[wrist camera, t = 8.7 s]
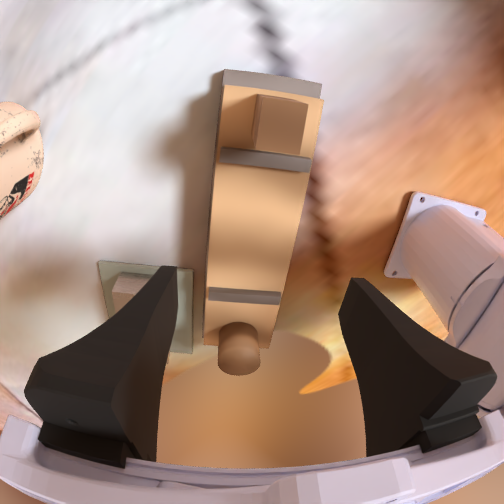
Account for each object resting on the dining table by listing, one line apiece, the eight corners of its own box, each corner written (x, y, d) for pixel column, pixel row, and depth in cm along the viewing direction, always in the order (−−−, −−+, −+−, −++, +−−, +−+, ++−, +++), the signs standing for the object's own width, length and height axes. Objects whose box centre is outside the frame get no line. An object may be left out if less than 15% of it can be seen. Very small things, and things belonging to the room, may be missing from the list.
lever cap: (121, 271, 23) (109, 296, 21) (167, 276, 24) (160, 302, 21) (132, 337, 27) (124, 362, 25) (171, 342, 28) (167, 368, 25)
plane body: (224, 69, 16) (219, 63, 11) (318, 83, 17) (355, 87, 12) (202, 331, 28) (198, 389, 22) (266, 335, 28) (273, 392, 23)
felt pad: (193, 269, 24) (192, 272, 24) (192, 350, 29) (192, 353, 29) (99, 260, 23) (98, 263, 23) (116, 341, 28) (115, 344, 28)
